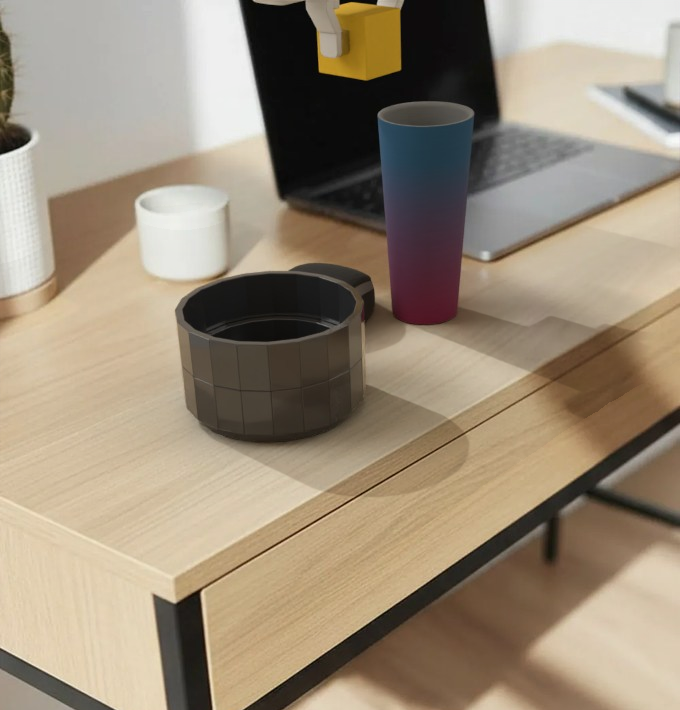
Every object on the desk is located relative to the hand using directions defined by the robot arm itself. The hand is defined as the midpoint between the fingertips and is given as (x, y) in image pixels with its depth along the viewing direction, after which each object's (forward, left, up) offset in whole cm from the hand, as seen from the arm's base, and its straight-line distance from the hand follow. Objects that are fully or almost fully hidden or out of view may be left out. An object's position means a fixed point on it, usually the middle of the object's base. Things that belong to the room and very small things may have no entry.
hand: (359, 49), depth 92 cm
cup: (-10, +4, -18) cm, 21 cm away
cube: (0, 0, -2) cm, 2 cm away
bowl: (-12, +22, -18) cm, 31 cm away
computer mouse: (-5, +11, -18) cm, 21 cm away
